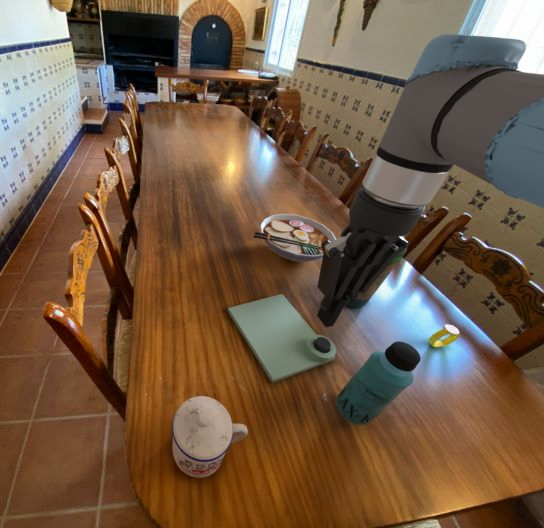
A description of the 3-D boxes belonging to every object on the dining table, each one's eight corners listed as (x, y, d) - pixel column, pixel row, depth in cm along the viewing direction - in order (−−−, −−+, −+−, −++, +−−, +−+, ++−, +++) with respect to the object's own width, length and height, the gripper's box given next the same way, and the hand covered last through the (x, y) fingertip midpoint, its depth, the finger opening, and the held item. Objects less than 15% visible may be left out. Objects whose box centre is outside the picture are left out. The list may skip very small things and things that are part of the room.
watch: (442, 338, 71) (458, 322, 68) (452, 348, 69) (469, 332, 65) (421, 341, 70) (436, 325, 67) (430, 351, 68) (446, 335, 64)
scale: (336, 361, 64) (342, 353, 62) (273, 385, 59) (276, 377, 57) (282, 296, 79) (285, 288, 77) (227, 311, 73) (229, 302, 71)
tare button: (331, 350, 63) (333, 346, 62) (320, 354, 62) (322, 350, 61) (321, 339, 65) (324, 335, 64) (310, 343, 64) (313, 338, 63)
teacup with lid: (172, 483, 45) (174, 456, 38) (169, 421, 52) (171, 388, 45) (247, 475, 47) (264, 447, 40) (235, 416, 54) (247, 383, 46)
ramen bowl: (329, 241, 101) (338, 220, 96) (334, 284, 84) (346, 262, 79) (256, 225, 105) (261, 205, 100) (247, 264, 88) (252, 241, 83)
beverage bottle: (329, 391, 59) (376, 328, 46) (364, 399, 58) (421, 337, 45) (334, 425, 54) (389, 365, 41) (373, 434, 53) (440, 376, 40)
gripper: (410, 179, 40) (343, 300, 55) (328, 183, 37) (280, 309, 52) (461, 206, 35) (370, 331, 50) (369, 213, 32) (302, 345, 47)
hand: (324, 320), depth 51 cm, fingers closed
